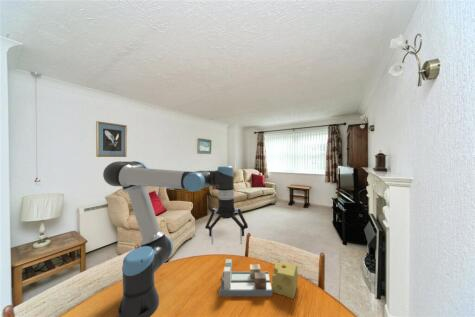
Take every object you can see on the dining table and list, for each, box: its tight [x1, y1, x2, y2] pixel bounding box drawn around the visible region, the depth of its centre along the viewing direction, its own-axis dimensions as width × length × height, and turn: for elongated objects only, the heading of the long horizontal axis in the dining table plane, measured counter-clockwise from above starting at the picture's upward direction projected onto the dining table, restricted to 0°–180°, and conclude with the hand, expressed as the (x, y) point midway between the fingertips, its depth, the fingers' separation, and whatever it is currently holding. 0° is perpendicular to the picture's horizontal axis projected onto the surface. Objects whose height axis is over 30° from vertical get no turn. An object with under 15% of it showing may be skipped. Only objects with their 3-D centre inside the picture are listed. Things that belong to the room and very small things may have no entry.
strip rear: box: [224, 258, 271, 281], centre depth 91 cm, size 22×5×9 cm, turn 88°
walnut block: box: [255, 271, 266, 289], centre depth 84 cm, size 5×4×5 cm
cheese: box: [271, 260, 299, 299], centre depth 85 cm, size 10×11×10 cm
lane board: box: [218, 270, 273, 297], centre depth 88 cm, size 24×14×3 cm, turn 88°
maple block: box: [249, 263, 261, 280], centre depth 91 cm, size 5×4×5 cm
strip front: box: [223, 266, 272, 289], centre depth 84 cm, size 22×5×9 cm, turn 88°
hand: (227, 243), depth 85 cm, fingers open, 13 cm apart
